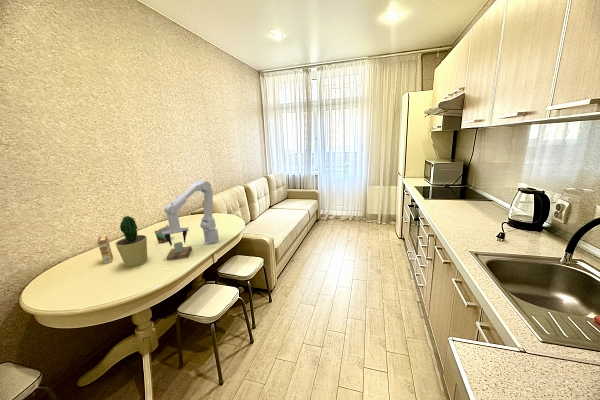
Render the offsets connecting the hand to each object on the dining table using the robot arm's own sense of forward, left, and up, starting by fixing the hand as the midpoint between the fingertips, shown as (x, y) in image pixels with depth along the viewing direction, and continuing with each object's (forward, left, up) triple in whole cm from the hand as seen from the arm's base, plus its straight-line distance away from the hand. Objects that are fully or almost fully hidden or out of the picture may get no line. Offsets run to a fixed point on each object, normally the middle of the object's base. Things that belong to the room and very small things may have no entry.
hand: (178, 243), depth 151 cm
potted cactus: (+24, +2, -8) cm, 25 cm away
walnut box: (0, 0, -8) cm, 8 cm away
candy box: (+43, -7, -8) cm, 44 cm away
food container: (+15, -29, -8) cm, 34 cm away
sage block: (0, 0, -5) cm, 5 cm away
